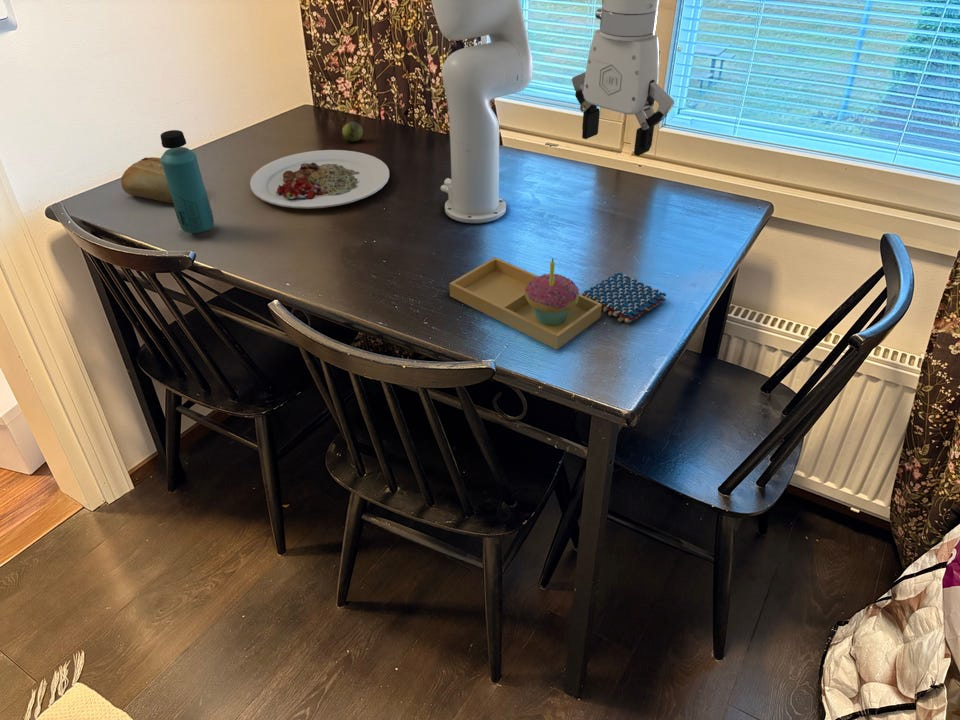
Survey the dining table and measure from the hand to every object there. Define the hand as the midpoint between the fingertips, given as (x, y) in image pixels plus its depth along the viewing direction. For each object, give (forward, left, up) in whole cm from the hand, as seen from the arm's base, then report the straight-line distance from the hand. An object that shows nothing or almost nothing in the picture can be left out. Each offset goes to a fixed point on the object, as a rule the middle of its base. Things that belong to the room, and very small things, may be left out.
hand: (615, 144), depth 109 cm
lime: (-83, +15, -25) cm, 88 cm away
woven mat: (+6, -2, -25) cm, 26 cm away
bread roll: (-90, -33, -25) cm, 100 cm away
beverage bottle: (-69, -36, -25) cm, 82 cm away
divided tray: (-5, -14, -25) cm, 29 cm away
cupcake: (0, -14, -25) cm, 28 cm away
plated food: (-69, -6, -25) cm, 74 cm away
